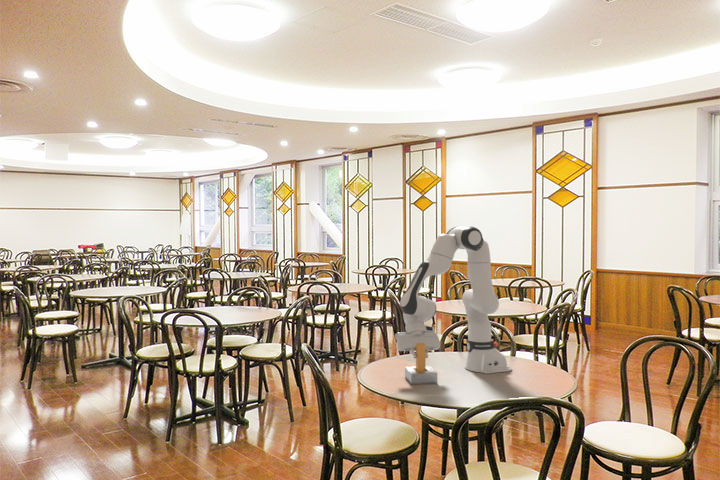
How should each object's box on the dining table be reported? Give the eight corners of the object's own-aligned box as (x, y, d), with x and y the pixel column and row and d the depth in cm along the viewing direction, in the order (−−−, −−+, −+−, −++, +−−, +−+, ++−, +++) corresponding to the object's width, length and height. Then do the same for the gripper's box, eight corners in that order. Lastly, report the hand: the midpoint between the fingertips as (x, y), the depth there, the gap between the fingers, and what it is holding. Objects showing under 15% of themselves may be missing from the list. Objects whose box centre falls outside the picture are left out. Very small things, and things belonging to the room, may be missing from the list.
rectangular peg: (423, 373, 242) (423, 342, 242) (425, 375, 239) (425, 344, 238) (415, 373, 242) (416, 343, 241) (417, 375, 238) (418, 344, 238)
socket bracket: (429, 375, 247) (429, 365, 247) (437, 383, 235) (437, 372, 235) (404, 376, 245) (404, 366, 245) (411, 384, 234) (411, 374, 233)
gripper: (395, 328, 245) (399, 354, 236) (437, 327, 248) (443, 353, 239) (393, 336, 250) (397, 362, 240) (434, 335, 253) (440, 360, 243)
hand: (421, 357), depth 239 cm, fingers closed on rectangular peg, 3 cm apart
